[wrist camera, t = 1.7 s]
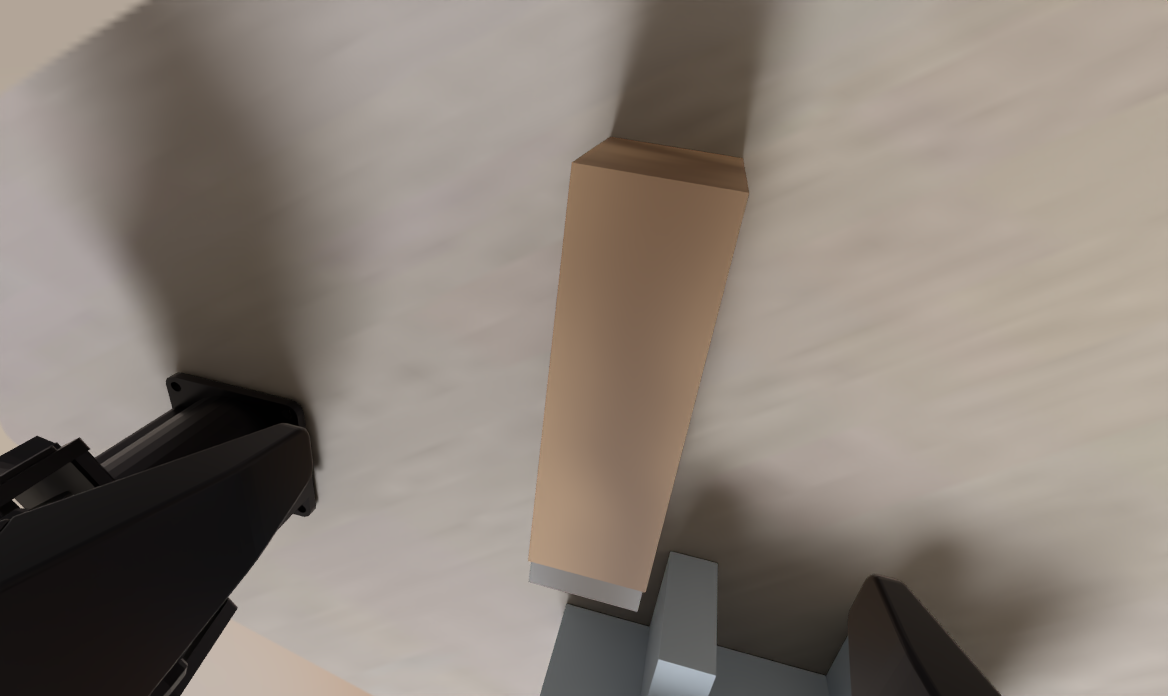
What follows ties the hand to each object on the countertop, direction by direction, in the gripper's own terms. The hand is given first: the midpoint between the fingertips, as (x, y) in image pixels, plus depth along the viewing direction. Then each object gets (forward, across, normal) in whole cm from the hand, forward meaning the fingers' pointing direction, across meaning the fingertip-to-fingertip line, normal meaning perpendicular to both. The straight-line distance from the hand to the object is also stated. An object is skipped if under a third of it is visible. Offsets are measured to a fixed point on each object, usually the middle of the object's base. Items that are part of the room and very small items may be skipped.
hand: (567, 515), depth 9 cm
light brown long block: (+12, 0, +3) cm, 12 cm away
